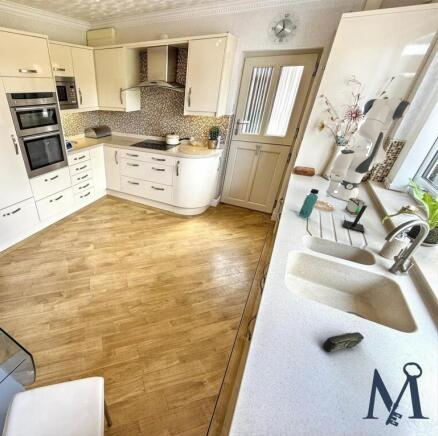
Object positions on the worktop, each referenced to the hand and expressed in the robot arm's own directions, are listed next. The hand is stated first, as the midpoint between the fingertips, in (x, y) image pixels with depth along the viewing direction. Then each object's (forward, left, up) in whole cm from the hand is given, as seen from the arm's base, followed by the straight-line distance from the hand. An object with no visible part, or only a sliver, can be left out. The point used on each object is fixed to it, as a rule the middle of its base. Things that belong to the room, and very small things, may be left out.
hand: (327, 194), depth 160 cm
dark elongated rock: (+116, +10, -12) cm, 117 cm away
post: (+15, +18, -12) cm, 26 cm away
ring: (-6, 0, -11) cm, 12 cm away
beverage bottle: (+21, -9, -12) cm, 26 cm away
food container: (-7, +19, -12) cm, 24 cm away
